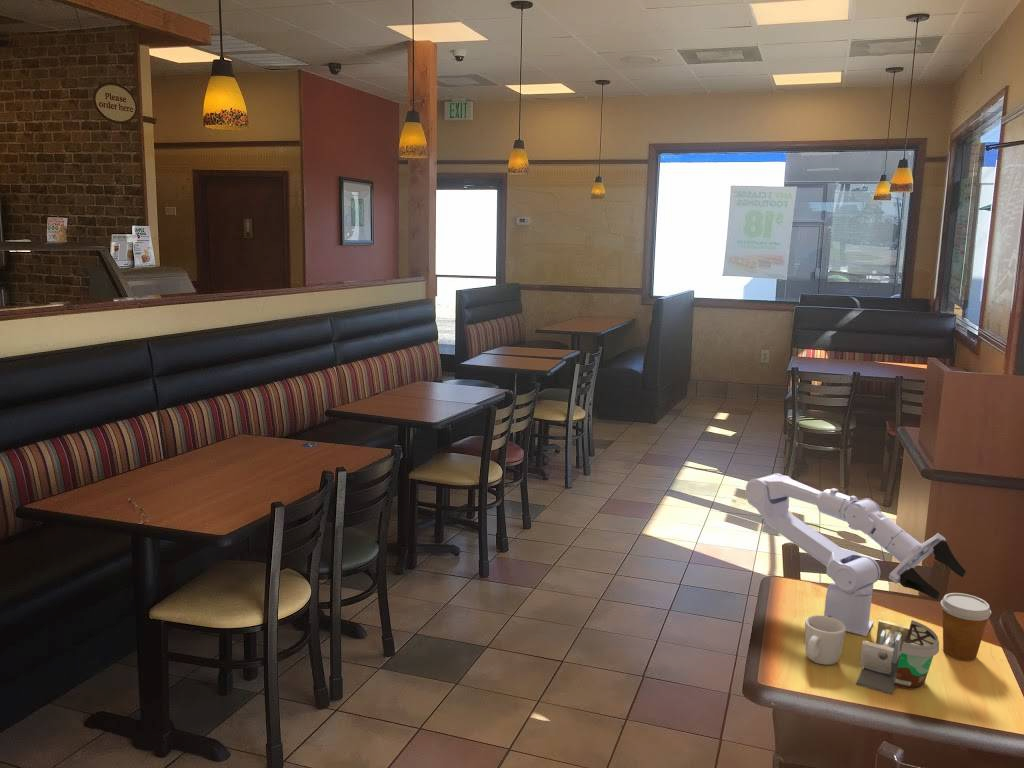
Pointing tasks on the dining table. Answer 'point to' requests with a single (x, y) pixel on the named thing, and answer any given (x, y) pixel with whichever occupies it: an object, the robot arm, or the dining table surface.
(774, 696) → the dining table surface
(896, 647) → the bearing block
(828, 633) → the cup
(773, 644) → the dining table surface
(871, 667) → the shaft
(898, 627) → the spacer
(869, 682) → the mat
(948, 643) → the disposable coffee cup
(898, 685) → the food container
